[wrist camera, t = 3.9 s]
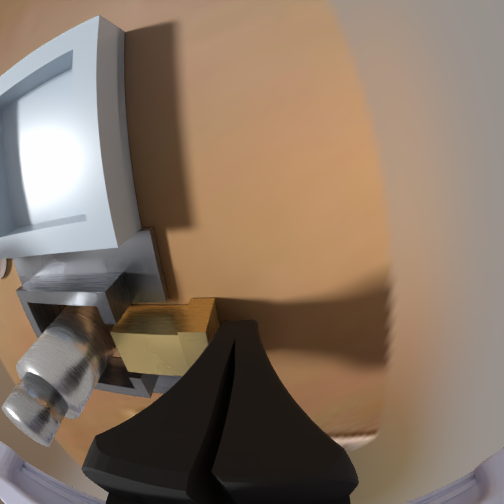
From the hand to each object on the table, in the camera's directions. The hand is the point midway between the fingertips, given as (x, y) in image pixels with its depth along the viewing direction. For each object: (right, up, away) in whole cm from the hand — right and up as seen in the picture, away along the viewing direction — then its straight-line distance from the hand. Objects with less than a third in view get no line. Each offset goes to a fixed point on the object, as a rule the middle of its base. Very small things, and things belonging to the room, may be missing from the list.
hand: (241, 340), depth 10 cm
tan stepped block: (-3, 0, +1) cm, 3 cm away
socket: (-7, 0, +1) cm, 7 cm away
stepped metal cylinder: (-7, 0, +1) cm, 7 cm away
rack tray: (-8, +8, -2) cm, 11 cm away
